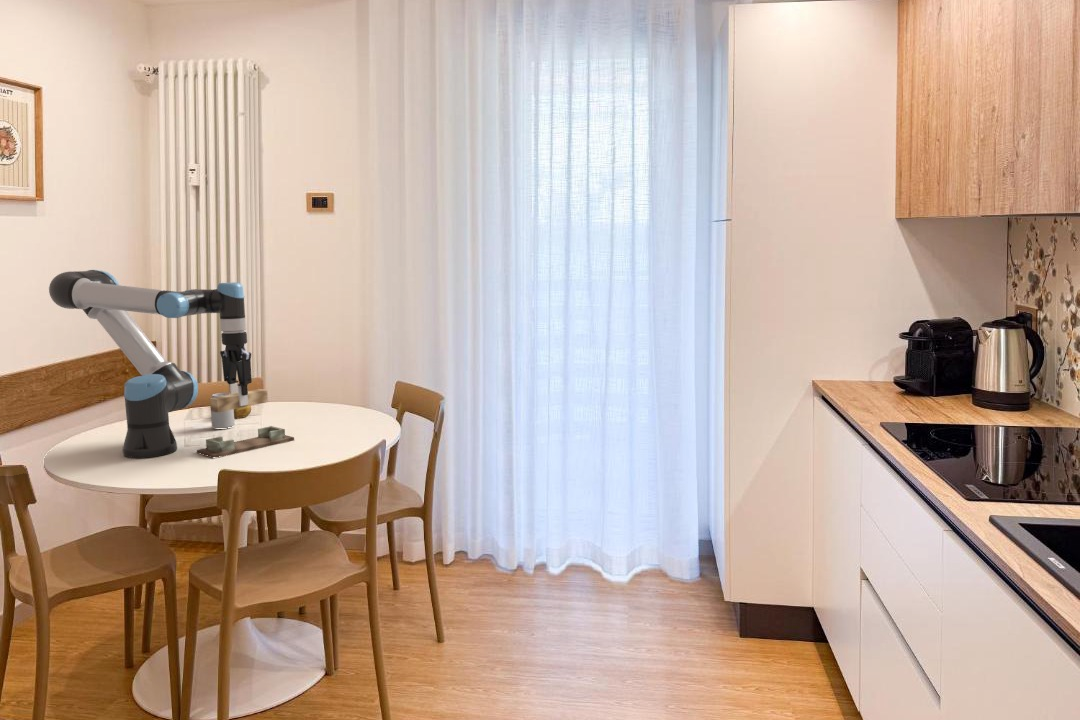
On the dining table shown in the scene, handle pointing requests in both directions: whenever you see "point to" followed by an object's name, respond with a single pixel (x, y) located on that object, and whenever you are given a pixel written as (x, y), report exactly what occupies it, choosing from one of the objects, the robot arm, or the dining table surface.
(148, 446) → the robot arm
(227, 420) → the can
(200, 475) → the dining table surface
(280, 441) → the cradle
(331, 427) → the dining table surface
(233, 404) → the slat
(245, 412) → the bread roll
